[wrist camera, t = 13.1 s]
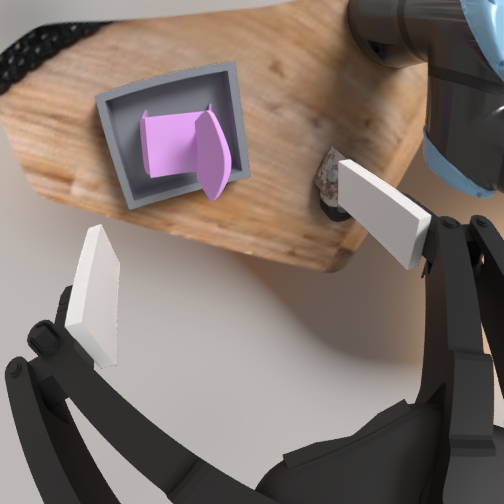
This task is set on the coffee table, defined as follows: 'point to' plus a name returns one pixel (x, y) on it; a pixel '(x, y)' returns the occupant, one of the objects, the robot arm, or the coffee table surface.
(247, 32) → the coffee table surface
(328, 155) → the grey brown rock
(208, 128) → the toy chair
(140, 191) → the tray
